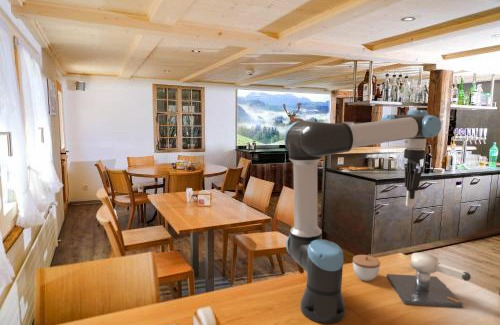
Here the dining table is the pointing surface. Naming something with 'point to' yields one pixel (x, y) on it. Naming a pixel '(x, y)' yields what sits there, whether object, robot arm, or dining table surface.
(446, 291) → the base
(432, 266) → the coupling lever handle
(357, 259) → the lidded jar
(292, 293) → the dining table surface
